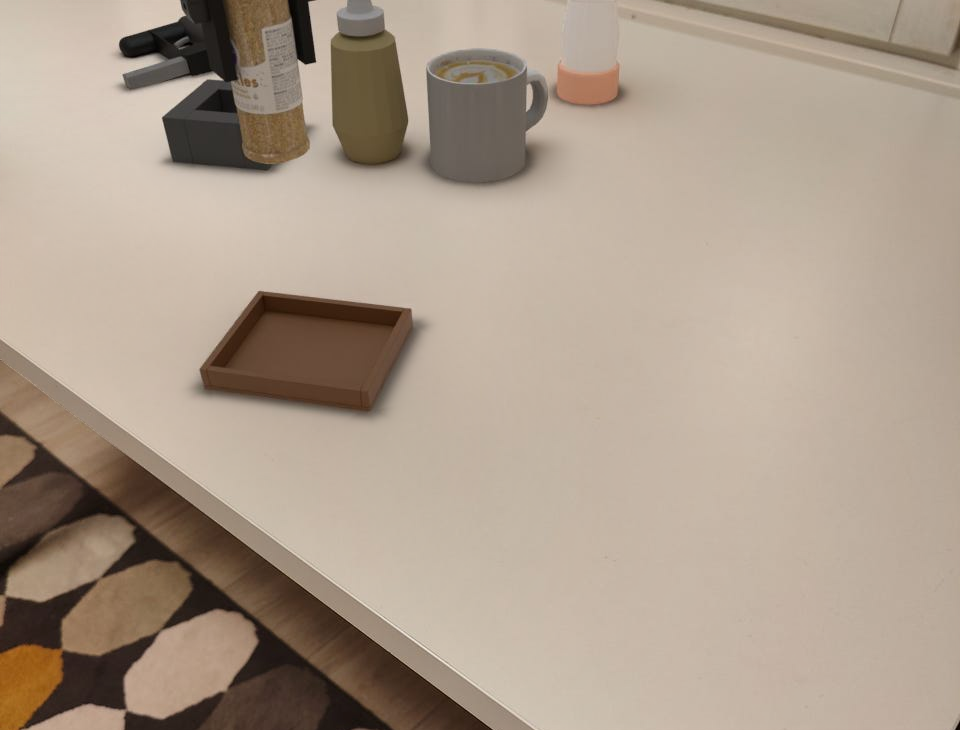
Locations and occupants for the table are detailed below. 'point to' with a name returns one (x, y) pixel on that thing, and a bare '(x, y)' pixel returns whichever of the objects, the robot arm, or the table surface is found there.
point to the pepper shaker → (589, 52)
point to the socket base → (208, 129)
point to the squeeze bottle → (367, 85)
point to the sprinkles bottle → (266, 80)
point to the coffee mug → (481, 113)
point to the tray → (309, 350)
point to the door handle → (167, 52)
